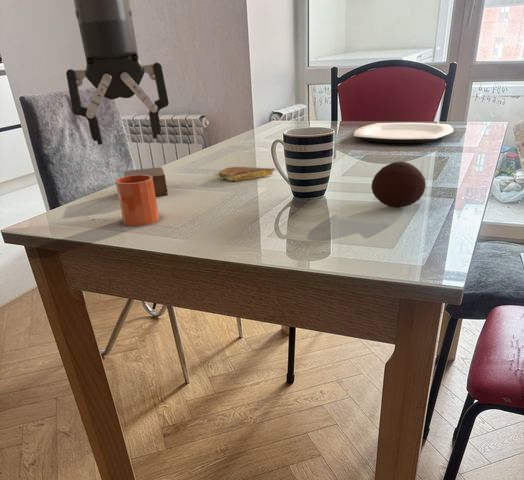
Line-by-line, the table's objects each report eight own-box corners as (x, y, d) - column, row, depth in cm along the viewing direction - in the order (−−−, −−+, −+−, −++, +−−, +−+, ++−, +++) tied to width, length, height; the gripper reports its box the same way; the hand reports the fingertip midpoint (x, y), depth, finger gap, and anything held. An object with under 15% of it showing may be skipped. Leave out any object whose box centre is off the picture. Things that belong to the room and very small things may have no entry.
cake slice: (275, 175, 114) (274, 167, 113) (261, 183, 108) (261, 175, 107) (231, 173, 118) (231, 165, 117) (216, 181, 112) (215, 172, 111)
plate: (370, 128, 160) (370, 121, 159) (459, 130, 150) (460, 123, 148) (341, 144, 140) (342, 136, 139) (442, 148, 129) (443, 140, 128)
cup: (125, 234, 84) (115, 185, 80) (124, 223, 89) (115, 177, 85) (161, 229, 85) (153, 181, 81) (158, 219, 90) (151, 173, 86)
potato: (417, 216, 85) (423, 168, 81) (363, 211, 88) (366, 165, 84) (427, 203, 91) (433, 158, 87) (376, 199, 94) (379, 155, 90)
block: (128, 199, 103) (124, 179, 101) (127, 190, 109) (123, 170, 107) (167, 195, 104) (164, 175, 102) (164, 185, 111) (161, 166, 109)
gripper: (154, 16, 76) (170, 133, 85) (55, 22, 73) (82, 141, 82) (157, 14, 70) (175, 140, 78) (49, 21, 67) (80, 150, 76)
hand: (127, 140), depth 80 cm, fingers open, 8 cm apart
